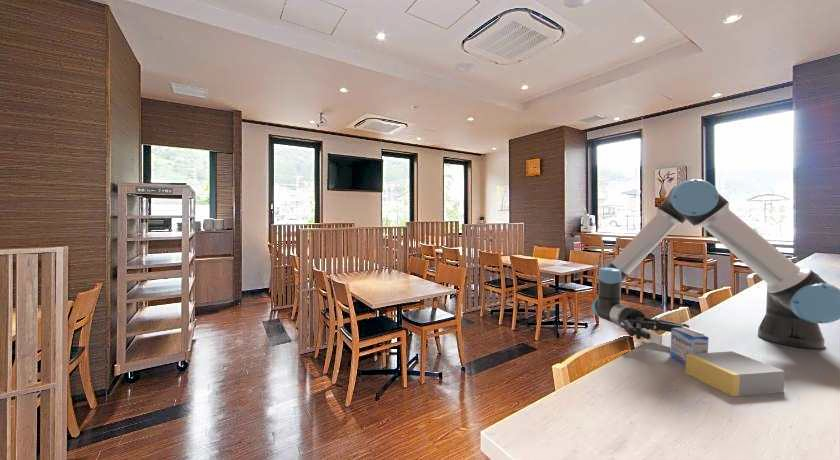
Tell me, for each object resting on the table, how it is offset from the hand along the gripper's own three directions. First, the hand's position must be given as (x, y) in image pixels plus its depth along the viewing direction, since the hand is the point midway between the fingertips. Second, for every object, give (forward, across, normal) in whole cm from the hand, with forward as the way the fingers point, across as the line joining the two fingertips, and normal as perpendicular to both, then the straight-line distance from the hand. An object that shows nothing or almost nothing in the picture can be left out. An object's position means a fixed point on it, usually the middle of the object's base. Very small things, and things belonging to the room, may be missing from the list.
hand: (682, 339), depth 100 cm
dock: (+14, -1, -6) cm, 15 cm away
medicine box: (+2, 0, -6) cm, 6 cm away
